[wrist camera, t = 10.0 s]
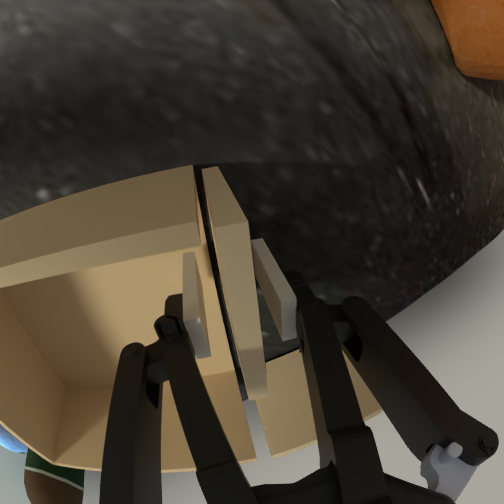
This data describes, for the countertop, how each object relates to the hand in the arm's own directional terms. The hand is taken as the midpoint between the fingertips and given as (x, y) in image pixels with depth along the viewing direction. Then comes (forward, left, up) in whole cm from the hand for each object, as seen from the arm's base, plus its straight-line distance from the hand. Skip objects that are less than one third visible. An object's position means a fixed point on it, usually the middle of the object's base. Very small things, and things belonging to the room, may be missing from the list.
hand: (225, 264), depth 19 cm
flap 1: (0, +1, -1) cm, 2 cm away
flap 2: (+5, -12, -1) cm, 13 cm away
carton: (-11, -4, -2) cm, 12 cm away
